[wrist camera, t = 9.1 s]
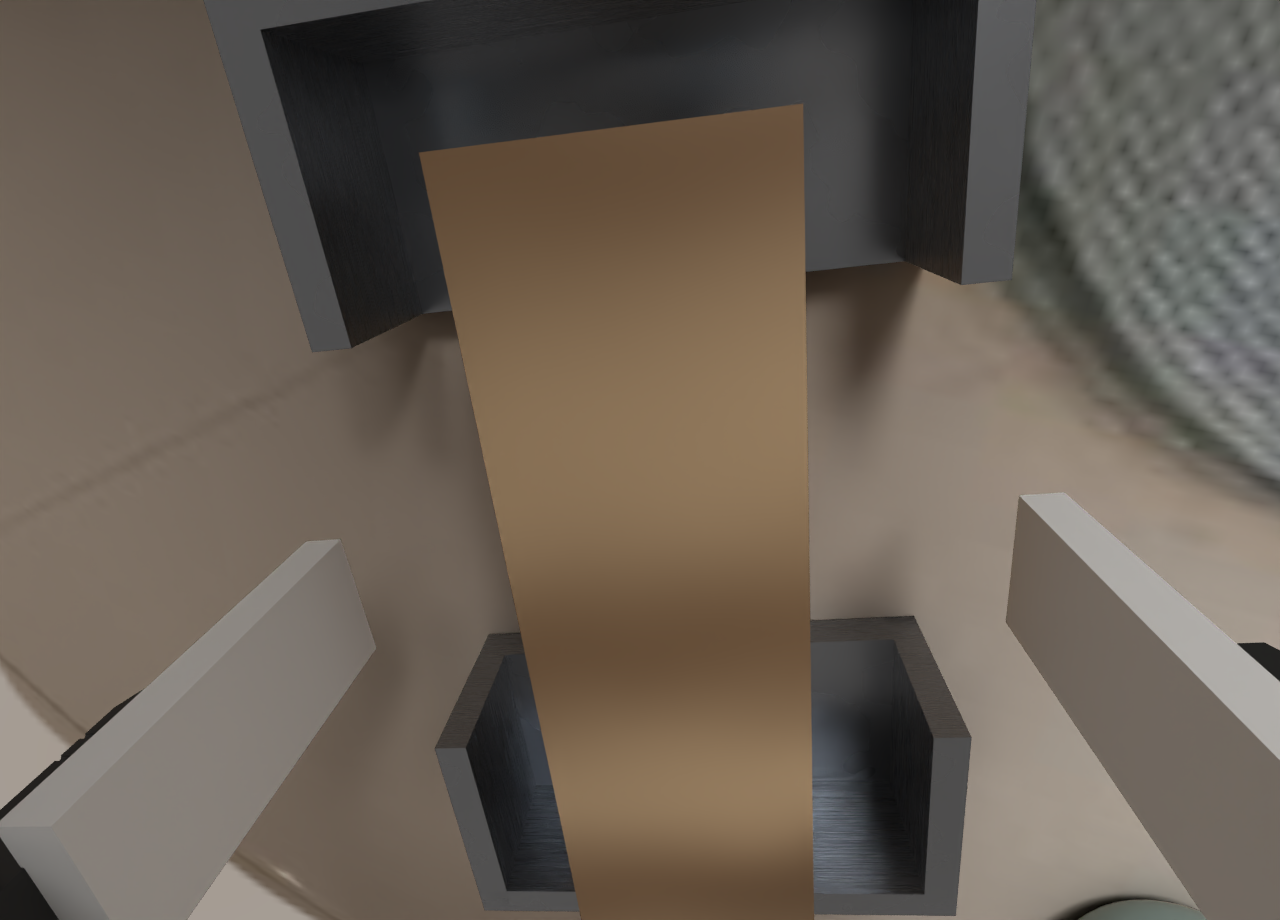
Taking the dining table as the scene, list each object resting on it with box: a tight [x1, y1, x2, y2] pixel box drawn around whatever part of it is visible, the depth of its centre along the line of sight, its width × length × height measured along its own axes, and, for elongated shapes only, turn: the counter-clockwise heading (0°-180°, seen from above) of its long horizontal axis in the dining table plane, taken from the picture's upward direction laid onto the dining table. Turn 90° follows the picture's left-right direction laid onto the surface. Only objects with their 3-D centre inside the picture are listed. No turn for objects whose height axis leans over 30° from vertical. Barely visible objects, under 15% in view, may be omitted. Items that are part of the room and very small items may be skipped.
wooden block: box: [419, 104, 814, 920], centre depth 14 cm, size 16×5×6 cm, turn 6°
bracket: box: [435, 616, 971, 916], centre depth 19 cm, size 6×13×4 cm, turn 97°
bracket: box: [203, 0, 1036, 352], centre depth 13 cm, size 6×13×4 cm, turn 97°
